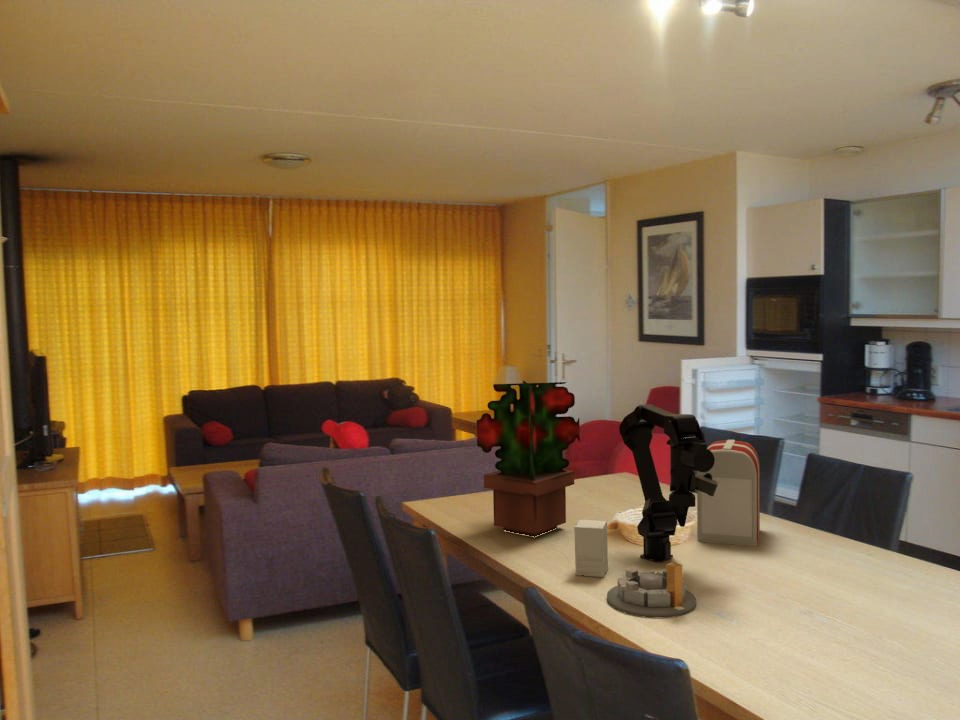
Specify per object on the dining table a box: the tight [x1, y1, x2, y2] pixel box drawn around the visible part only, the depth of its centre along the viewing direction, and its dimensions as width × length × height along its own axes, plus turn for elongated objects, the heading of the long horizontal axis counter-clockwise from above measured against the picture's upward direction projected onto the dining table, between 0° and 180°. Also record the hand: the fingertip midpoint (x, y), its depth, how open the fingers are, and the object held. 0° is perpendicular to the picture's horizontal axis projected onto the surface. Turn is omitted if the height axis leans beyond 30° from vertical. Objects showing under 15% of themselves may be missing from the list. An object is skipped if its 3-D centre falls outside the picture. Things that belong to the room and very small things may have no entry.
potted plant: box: [476, 380, 581, 537], centre depth 242 cm, size 22×22×45 cm
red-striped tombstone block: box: [696, 439, 761, 547], centre depth 233 cm, size 16×18×27 cm
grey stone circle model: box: [606, 574, 697, 618], centre depth 183 cm, size 20×20×6 cm
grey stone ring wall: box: [617, 561, 686, 607], centre depth 183 cm, size 15×14×9 cm
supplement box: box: [573, 519, 609, 578], centre depth 203 cm, size 7×7×13 cm
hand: (682, 526), depth 201 cm, fingers closed
